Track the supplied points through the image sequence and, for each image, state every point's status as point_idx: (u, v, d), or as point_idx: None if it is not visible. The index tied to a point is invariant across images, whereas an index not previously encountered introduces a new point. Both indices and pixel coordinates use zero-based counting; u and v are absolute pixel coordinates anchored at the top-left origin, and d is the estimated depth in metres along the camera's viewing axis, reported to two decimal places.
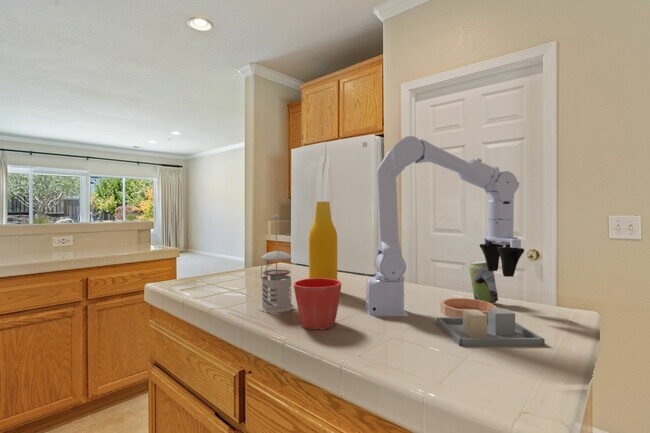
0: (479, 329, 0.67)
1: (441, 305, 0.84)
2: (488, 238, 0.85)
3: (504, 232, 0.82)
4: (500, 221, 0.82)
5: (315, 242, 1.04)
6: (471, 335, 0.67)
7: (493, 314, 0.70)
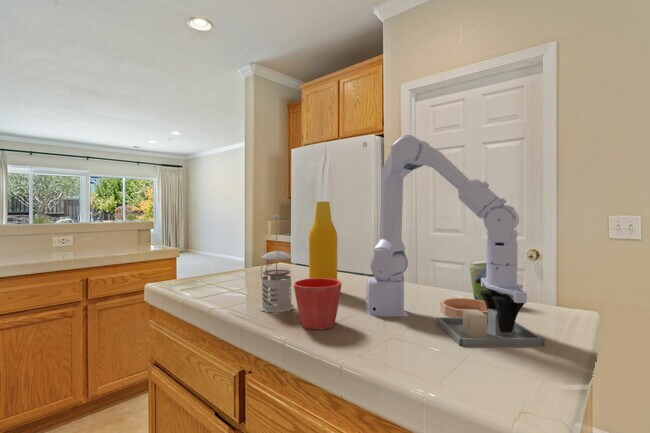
0: (479, 329, 0.67)
1: (441, 305, 0.84)
2: (487, 286, 0.70)
3: (506, 280, 0.67)
4: (501, 267, 0.68)
5: (315, 242, 1.04)
6: (471, 335, 0.67)
7: (493, 314, 0.70)
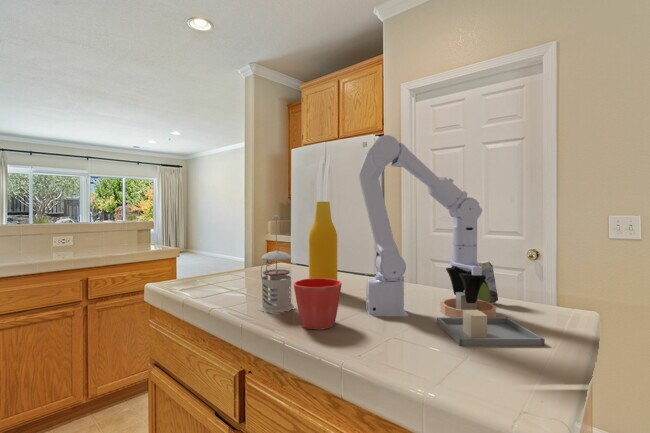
0: (479, 329, 0.67)
1: (441, 305, 0.84)
2: (452, 263, 0.85)
3: (467, 258, 0.82)
4: (463, 247, 0.83)
5: (315, 242, 1.04)
6: (471, 335, 0.67)
7: (459, 296, 0.85)
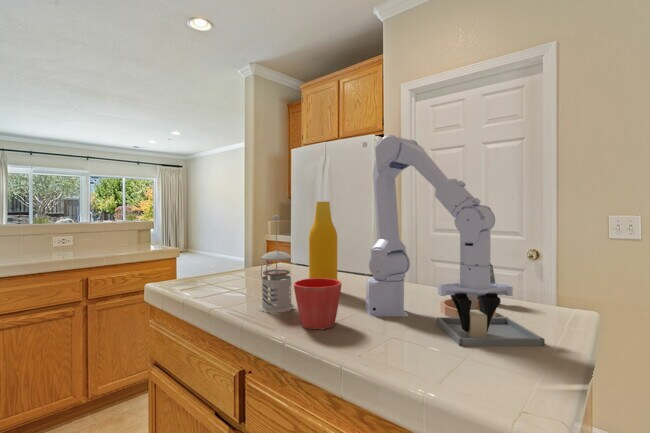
0: (479, 329, 0.67)
1: (441, 305, 0.84)
2: None
3: (460, 278, 0.70)
4: (460, 264, 0.70)
5: (315, 242, 1.04)
6: (471, 335, 0.67)
7: None
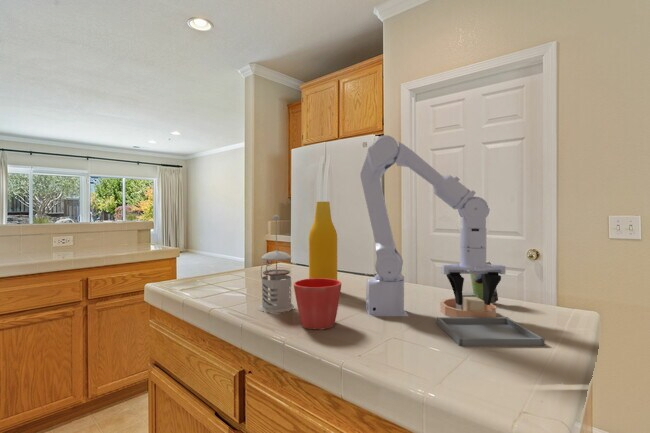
0: None
1: (441, 305, 0.84)
2: None
3: (460, 259, 0.81)
4: (460, 248, 0.82)
5: (315, 242, 1.04)
6: None
7: None
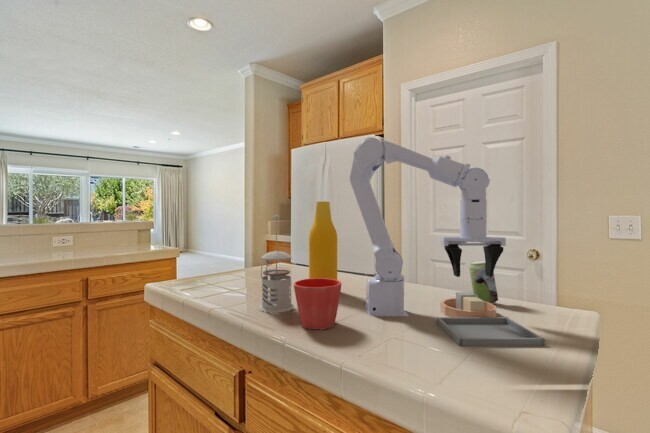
0: None
1: (441, 305, 0.84)
2: None
3: (460, 231, 0.81)
4: None
5: (315, 242, 1.04)
6: None
7: (459, 296, 0.85)
